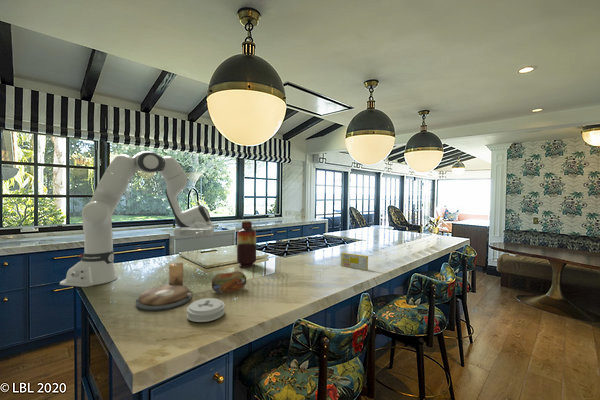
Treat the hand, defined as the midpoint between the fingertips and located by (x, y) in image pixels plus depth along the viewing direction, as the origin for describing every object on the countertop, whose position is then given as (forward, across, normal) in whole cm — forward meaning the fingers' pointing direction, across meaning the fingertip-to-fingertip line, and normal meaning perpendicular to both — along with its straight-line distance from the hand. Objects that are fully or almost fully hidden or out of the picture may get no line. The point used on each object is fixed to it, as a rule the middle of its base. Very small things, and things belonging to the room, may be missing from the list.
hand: (188, 234), depth 141 cm
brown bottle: (-21, +26, +22) cm, 40 cm away
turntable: (+31, +4, +20) cm, 37 cm away
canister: (+14, 0, +22) cm, 26 cm away
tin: (+20, +26, +22) cm, 40 cm away
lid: (+44, +24, +22) cm, 55 cm away
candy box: (-18, +89, +23) cm, 93 cm away
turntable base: (+31, +3, +22) cm, 38 cm away
